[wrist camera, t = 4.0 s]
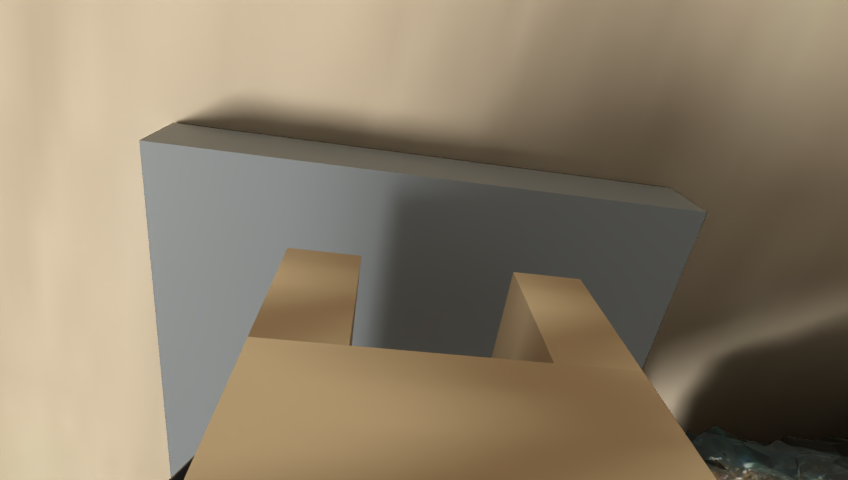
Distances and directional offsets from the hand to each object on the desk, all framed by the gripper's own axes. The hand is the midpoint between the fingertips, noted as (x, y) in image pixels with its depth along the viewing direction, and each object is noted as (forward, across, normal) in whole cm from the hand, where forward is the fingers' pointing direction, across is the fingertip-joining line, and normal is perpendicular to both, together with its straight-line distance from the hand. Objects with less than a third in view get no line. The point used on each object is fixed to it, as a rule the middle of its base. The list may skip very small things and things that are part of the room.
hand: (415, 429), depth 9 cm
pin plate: (+4, 0, +6) cm, 8 cm away
